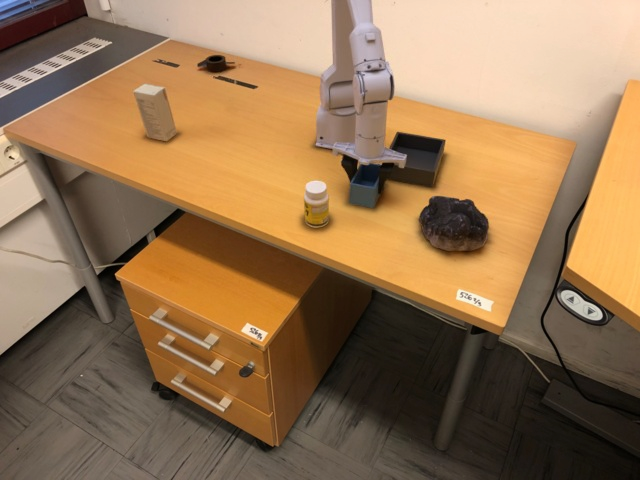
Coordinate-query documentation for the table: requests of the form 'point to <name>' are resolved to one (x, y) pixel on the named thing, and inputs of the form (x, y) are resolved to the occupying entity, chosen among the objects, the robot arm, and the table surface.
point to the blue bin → (365, 186)
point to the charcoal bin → (417, 158)
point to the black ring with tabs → (215, 63)
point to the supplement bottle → (316, 204)
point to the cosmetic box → (155, 112)
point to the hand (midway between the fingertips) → (367, 188)
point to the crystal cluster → (454, 224)
